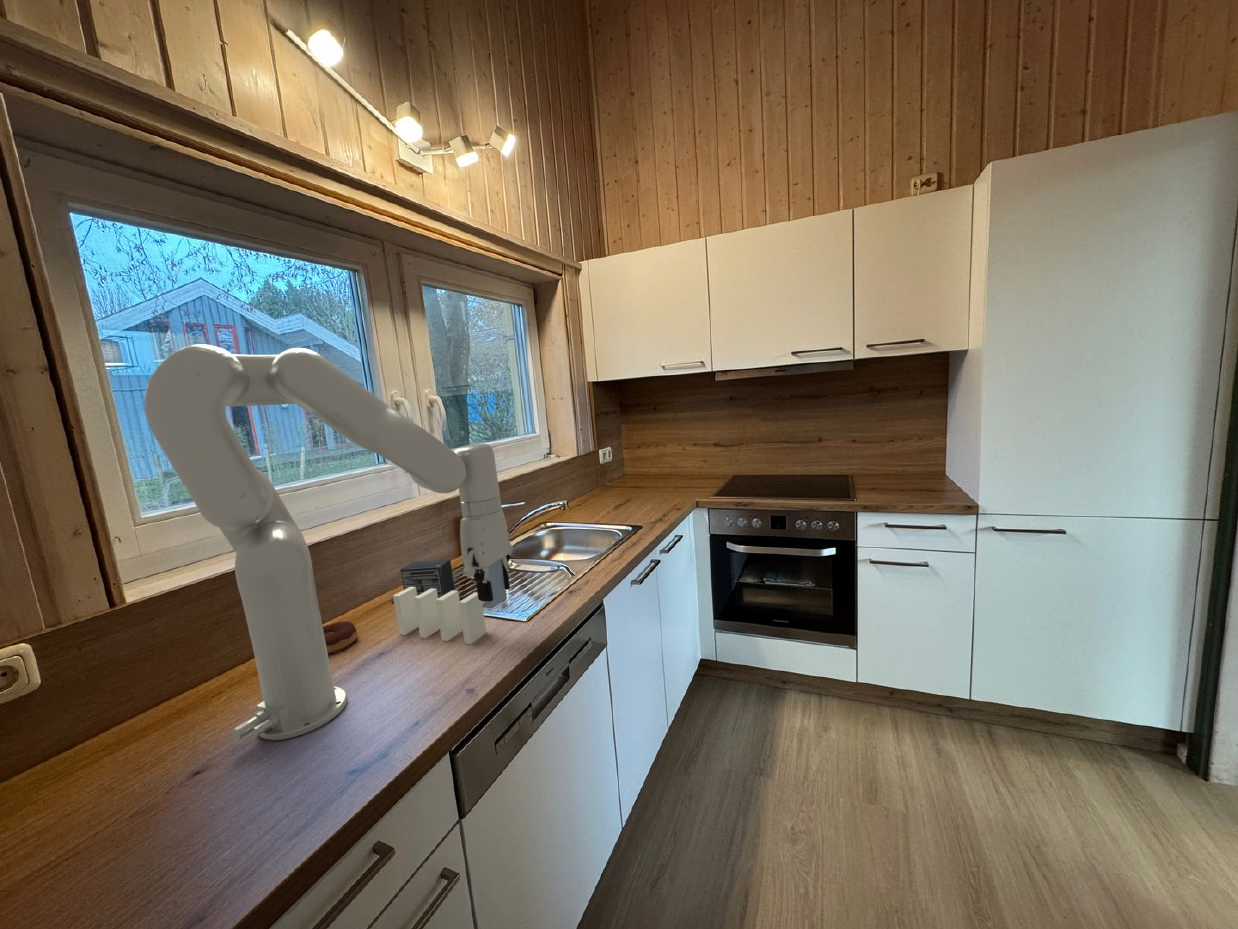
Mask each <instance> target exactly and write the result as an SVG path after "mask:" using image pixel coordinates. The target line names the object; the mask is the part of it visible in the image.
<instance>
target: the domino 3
mask: <svg viewBox="0 0 1238 929" xmlns="http://www.w3.org/2000/svg"><path fill="white" fill-rule="evenodd" d="M460 601H461V600H460V593H459V590H456V589H455V590H452V591H450V592H449V593H447V594H445V595H443V596H442V597H440V598H438V599H436V604H437V611H438V617H439V624H440V629H439V630H440V635H441V636H440V637H441V641H442V642H449V641H451V640H452V639H453V638H455V637H457V635H459V634H461V633H463V628H462V621H461V614H460V607H459V602H460Z"/></svg>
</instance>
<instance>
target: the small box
mask: <svg viewBox="0 0 1238 929" xmlns="http://www.w3.org/2000/svg"><path fill="white" fill-rule="evenodd" d="M451 562H452V561H451V558H448V559H434V560H433V559H431V560H429V559H428V560H417V561H411V562H410V563H408V564H407V565H405V566H403V567H401V568H400V573H401V574H400V575H401V580H402V586H403V590H405V589H407V588H409V587H416V591H417V596H418V595H420V594H422V593H424V592H425V591H427V590H429V589H431V588H432V589H437V595H438V598H440V597H442V596H443V595H445V594H447V593H449V592H450V591H452V590H455V591H456V588H455V583H454V575H453V574H454V573H453V568H452V563H451Z"/></svg>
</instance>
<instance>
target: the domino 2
mask: <svg viewBox="0 0 1238 929" xmlns="http://www.w3.org/2000/svg"><path fill="white" fill-rule="evenodd" d="M436 599H438V595H437V589H432V588H431V589H429V590H427V591H425V592H424V593H422V594H420V595H418V596H416V597H414V601H415V608H416V614H417V620H418V627H417V628H418V632H419V637H420V638H421V639H428V637H430V636H431V635H433V634H434V633H436V632H437V631H439V630H440V624H439V617H438V611H437V604H436Z"/></svg>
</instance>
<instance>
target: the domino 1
mask: <svg viewBox="0 0 1238 929" xmlns="http://www.w3.org/2000/svg"><path fill="white" fill-rule="evenodd" d="M416 596H417V591H416V587H409V588H407V589H405V590H404V589H403V590H401V591H399V592H398V593H396V594H393V595H392V598H393V605H394V610H395V617H396V623H397V628H398V634H399V635H401V636H406V635H408V634H409V633H411V632H413V631H414V630H416V629H417V628H419V627H418V620H417V614H416V608H415V601H414V597H416Z"/></svg>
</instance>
